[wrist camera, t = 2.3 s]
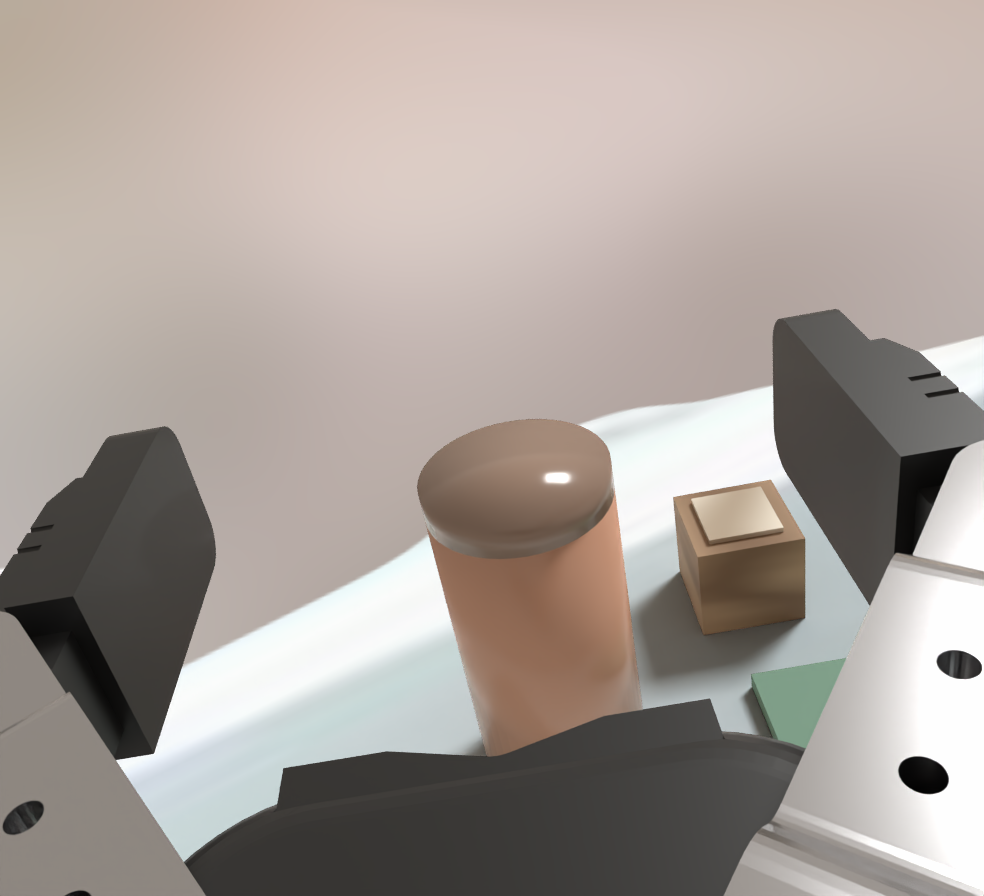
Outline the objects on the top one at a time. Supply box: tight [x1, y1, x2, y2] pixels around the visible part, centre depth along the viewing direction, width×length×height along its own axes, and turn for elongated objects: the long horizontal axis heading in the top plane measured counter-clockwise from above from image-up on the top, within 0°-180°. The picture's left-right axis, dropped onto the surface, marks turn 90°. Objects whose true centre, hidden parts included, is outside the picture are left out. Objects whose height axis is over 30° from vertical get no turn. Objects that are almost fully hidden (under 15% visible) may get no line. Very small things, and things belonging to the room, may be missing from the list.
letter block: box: [673, 480, 805, 635], centre depth 37 cm, size 4×4×4 cm
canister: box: [417, 419, 643, 756], centre depth 30 cm, size 6×6×12 cm
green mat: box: [751, 658, 846, 748], centre depth 29 cm, size 10×10×1 cm
